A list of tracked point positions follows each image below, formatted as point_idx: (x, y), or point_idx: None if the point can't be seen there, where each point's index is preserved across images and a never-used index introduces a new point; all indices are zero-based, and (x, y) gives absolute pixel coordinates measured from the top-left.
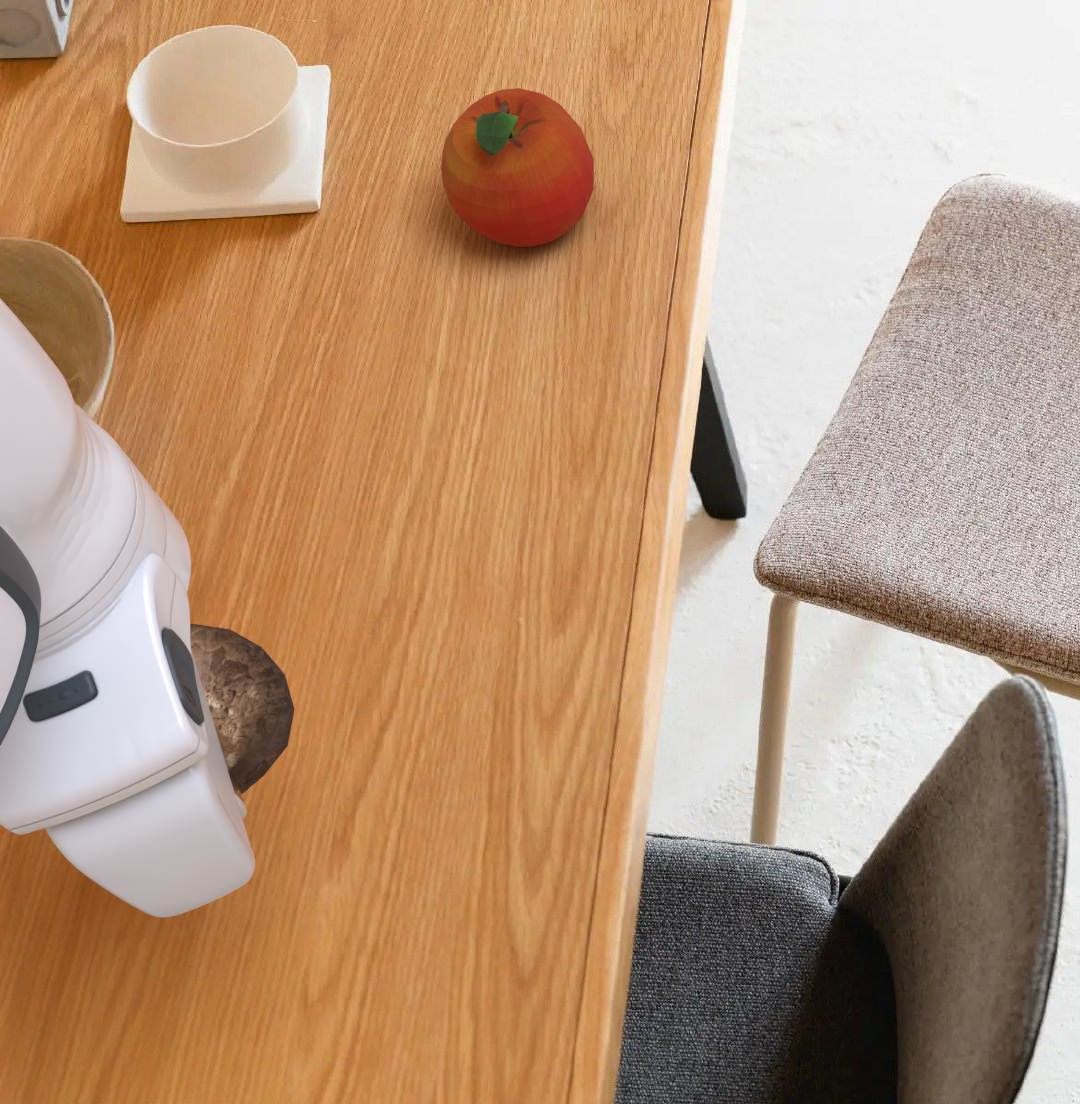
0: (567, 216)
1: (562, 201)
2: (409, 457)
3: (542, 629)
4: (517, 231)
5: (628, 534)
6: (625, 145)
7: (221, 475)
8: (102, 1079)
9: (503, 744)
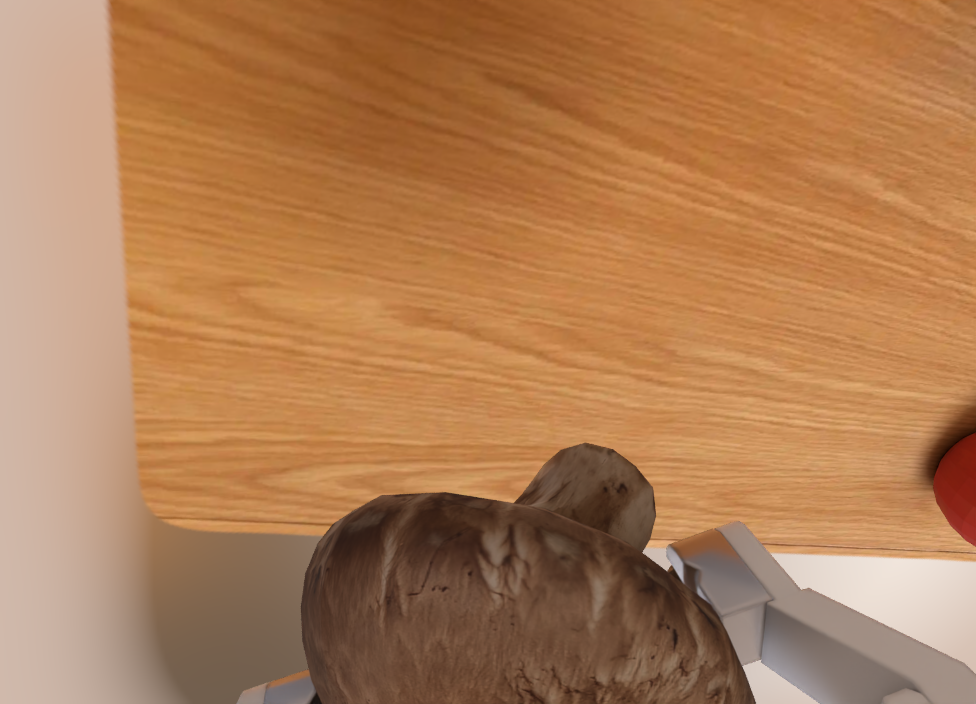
0: (953, 522)
1: (973, 536)
2: (807, 369)
3: None
4: (968, 490)
5: None
6: None
7: (894, 181)
8: (126, 9)
9: (492, 454)
